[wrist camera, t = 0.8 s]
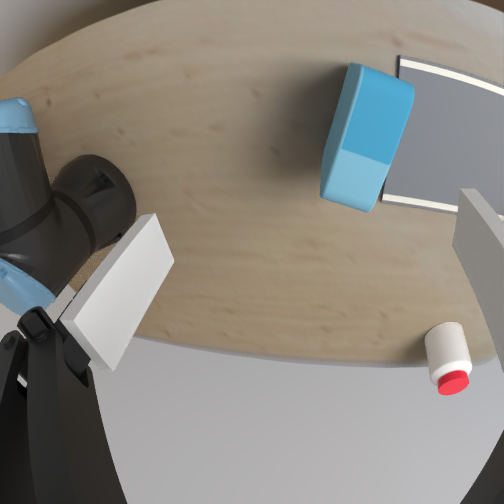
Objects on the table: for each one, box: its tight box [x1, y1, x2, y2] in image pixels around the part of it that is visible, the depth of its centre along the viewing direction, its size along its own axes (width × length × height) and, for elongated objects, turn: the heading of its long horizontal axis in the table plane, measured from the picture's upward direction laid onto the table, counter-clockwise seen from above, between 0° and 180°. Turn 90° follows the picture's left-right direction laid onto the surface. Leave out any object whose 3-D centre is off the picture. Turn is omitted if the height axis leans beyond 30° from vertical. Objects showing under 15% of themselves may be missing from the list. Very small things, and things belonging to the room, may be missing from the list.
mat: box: [381, 55, 504, 222], centre depth 29 cm, size 19×18×1 cm
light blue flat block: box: [320, 62, 415, 212], centre depth 26 cm, size 12×4×12 cm, turn 169°
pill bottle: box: [424, 322, 472, 395], centre depth 43 cm, size 8×8×11 cm
